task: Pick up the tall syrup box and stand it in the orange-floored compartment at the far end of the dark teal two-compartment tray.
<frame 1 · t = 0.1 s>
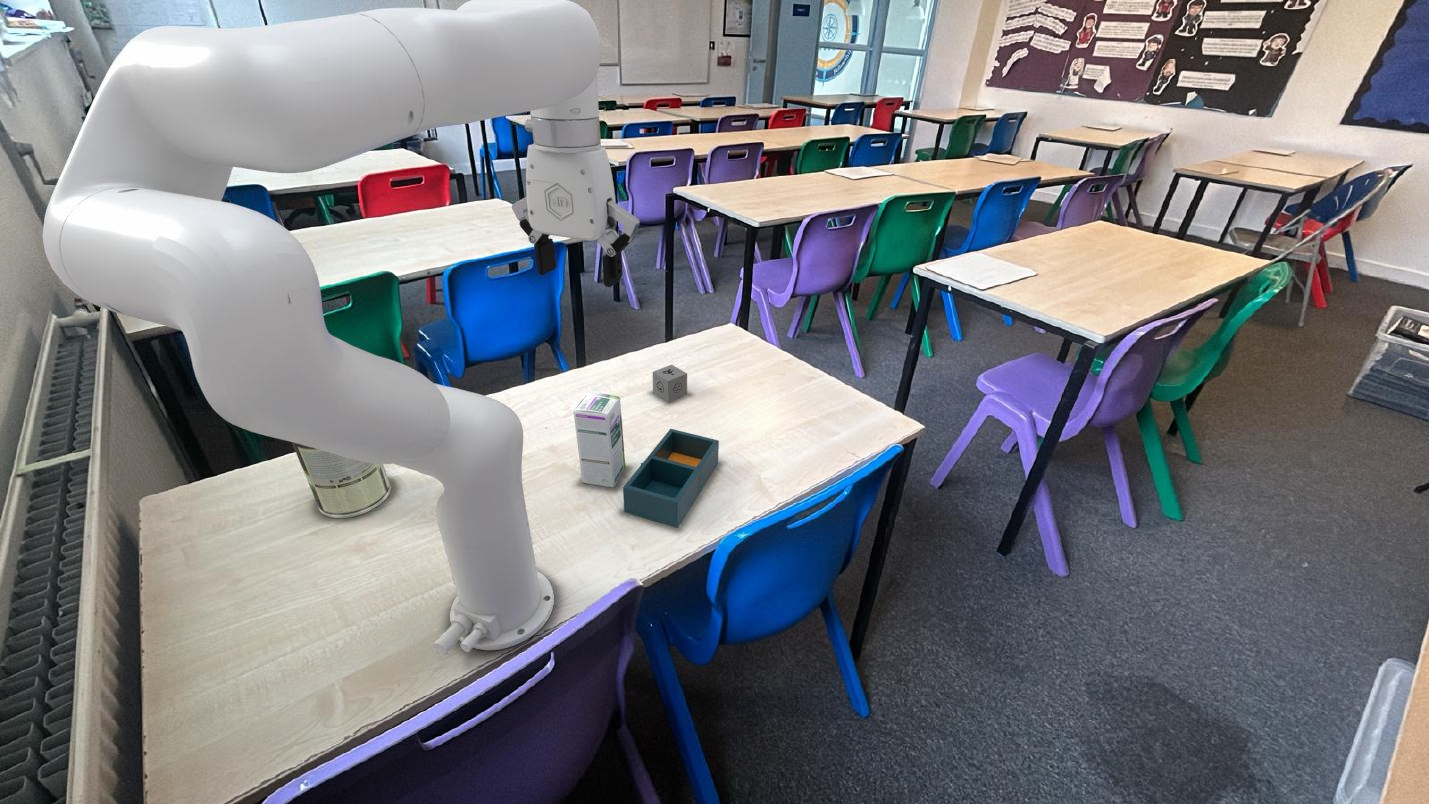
hand: (579, 277, 78), 37 cm above the table, tool pointing down, fingers open, 9 cm apart
dice cube: (670, 394, 125), on the table
coffee can: (355, 497, 95), on the table
syrup box: (603, 476, 102), on the table
tray: (673, 486, 100), on the table
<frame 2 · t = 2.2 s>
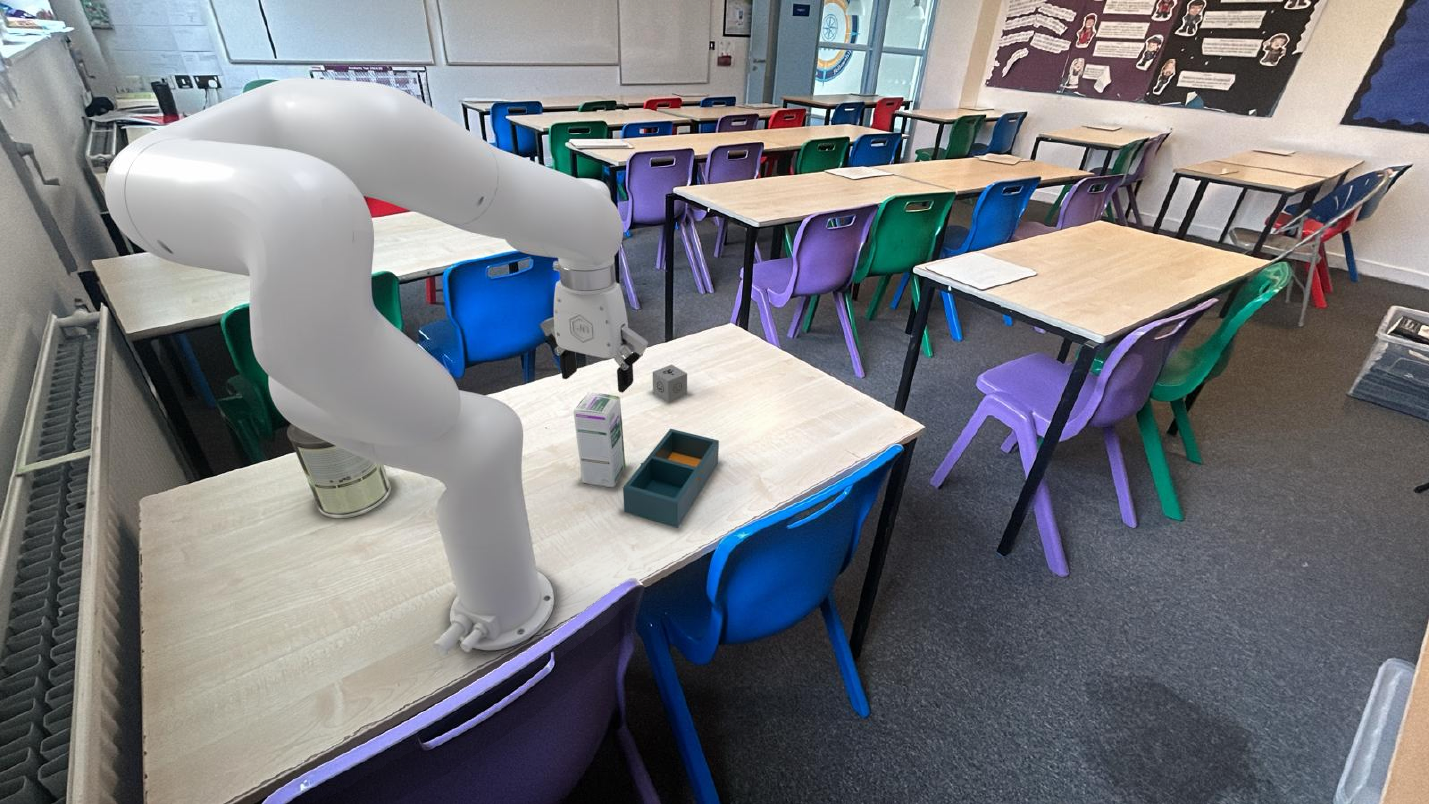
hand: (597, 381, 93), 18 cm above the table, tool pointing down, fingers open, 9 cm apart
nothing on the table moved.
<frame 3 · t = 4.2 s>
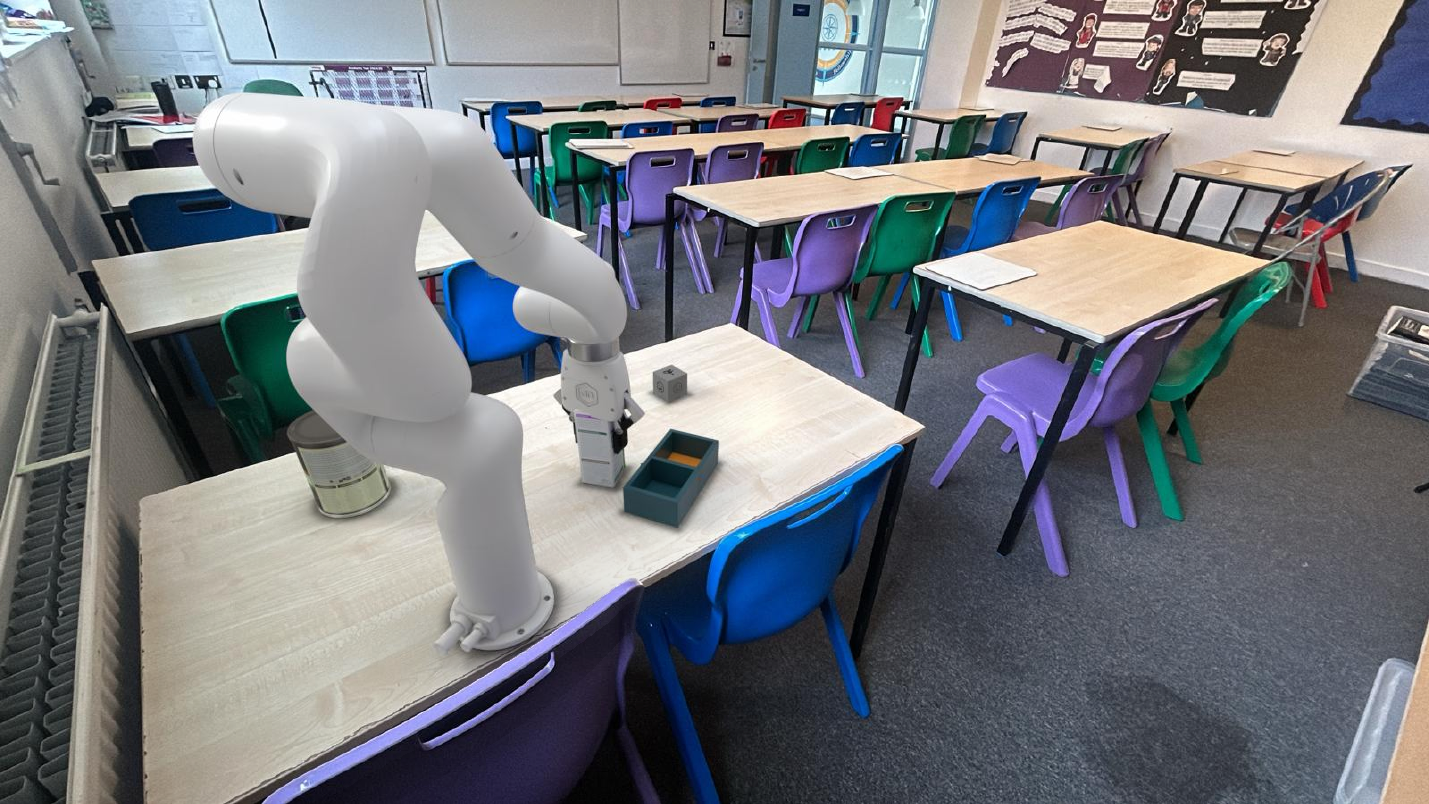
hand: (601, 443, 98), 7 cm above the table, tool pointing down, fingers closed on syrup box, 6 cm apart
syrup box: (603, 476, 102), on the table, touching gripper
everything else where it was.
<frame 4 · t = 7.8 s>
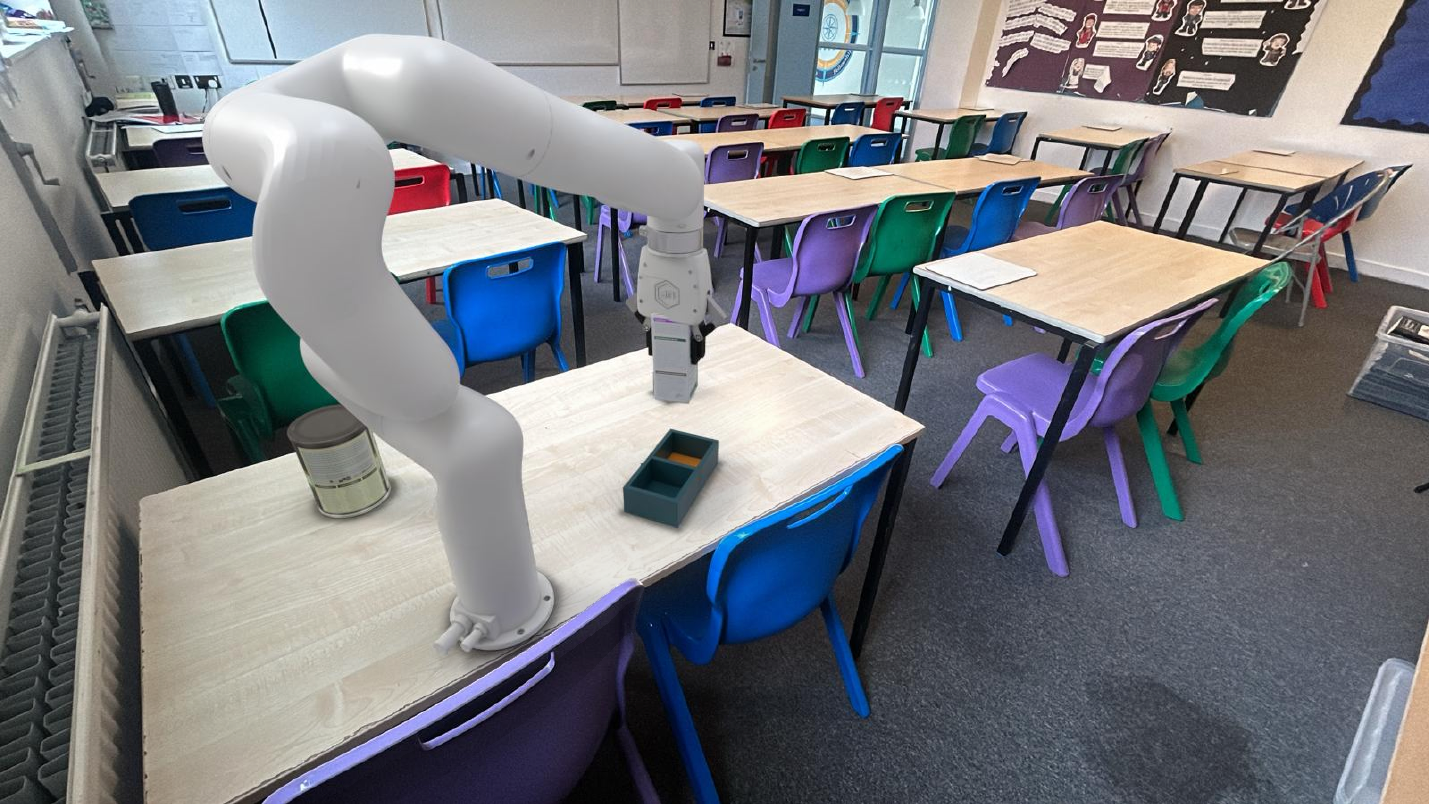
hand: (675, 355, 91), 22 cm above the table, tool pointing down, fingers closed on syrup box, 6 cm apart
syrup box: (675, 394, 95), point 16 cm above the table, touching gripper
everything else where it was.
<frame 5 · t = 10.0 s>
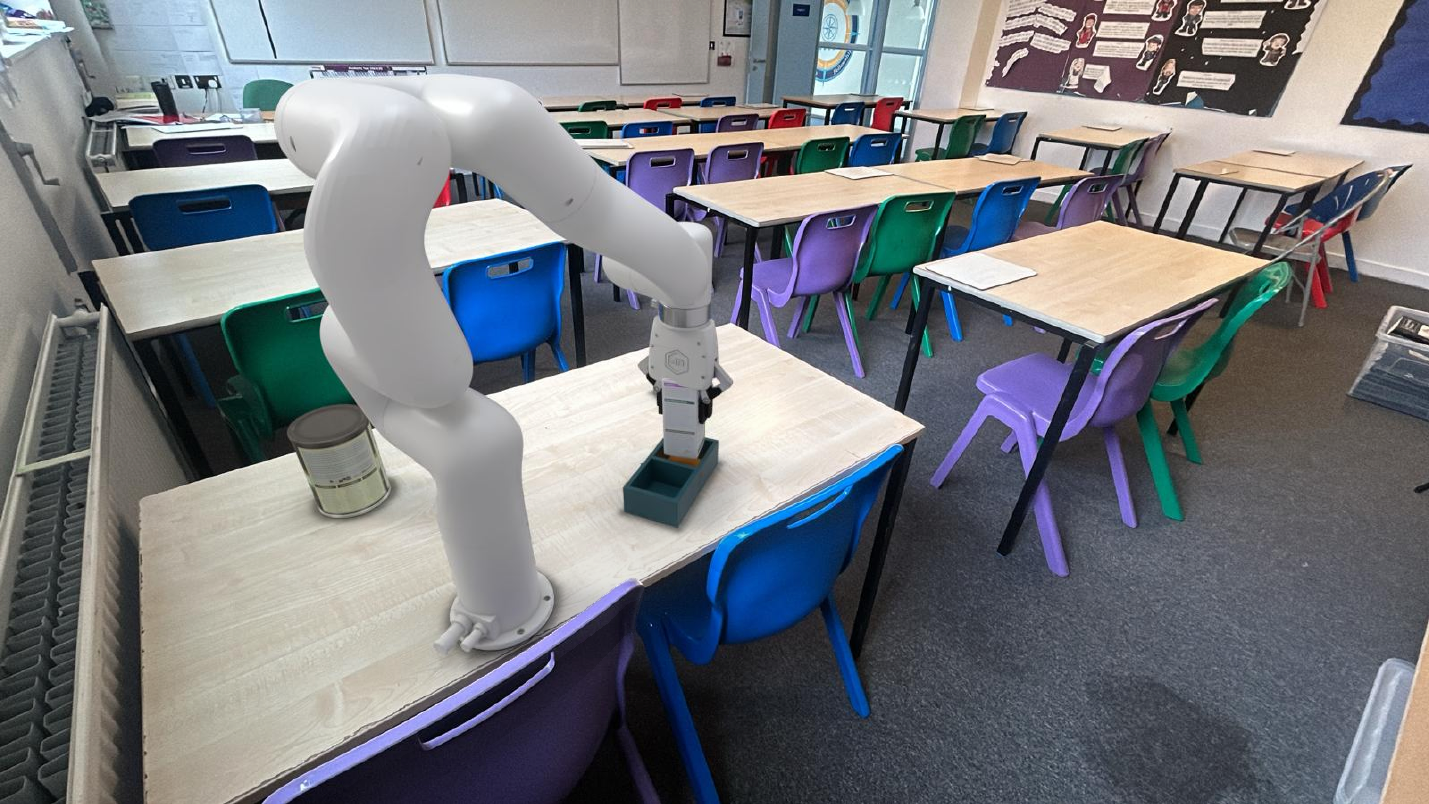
hand: (684, 414, 97), 12 cm above the table, tool pointing down, fingers closed on syrup box, 6 cm apart
syrup box: (684, 448, 101), point 5 cm above the table, touching gripper
everything else where it was.
when the fingers open (7 cm above the table, at t = 11.6 s): syrup box stays where it is, resting on tray.
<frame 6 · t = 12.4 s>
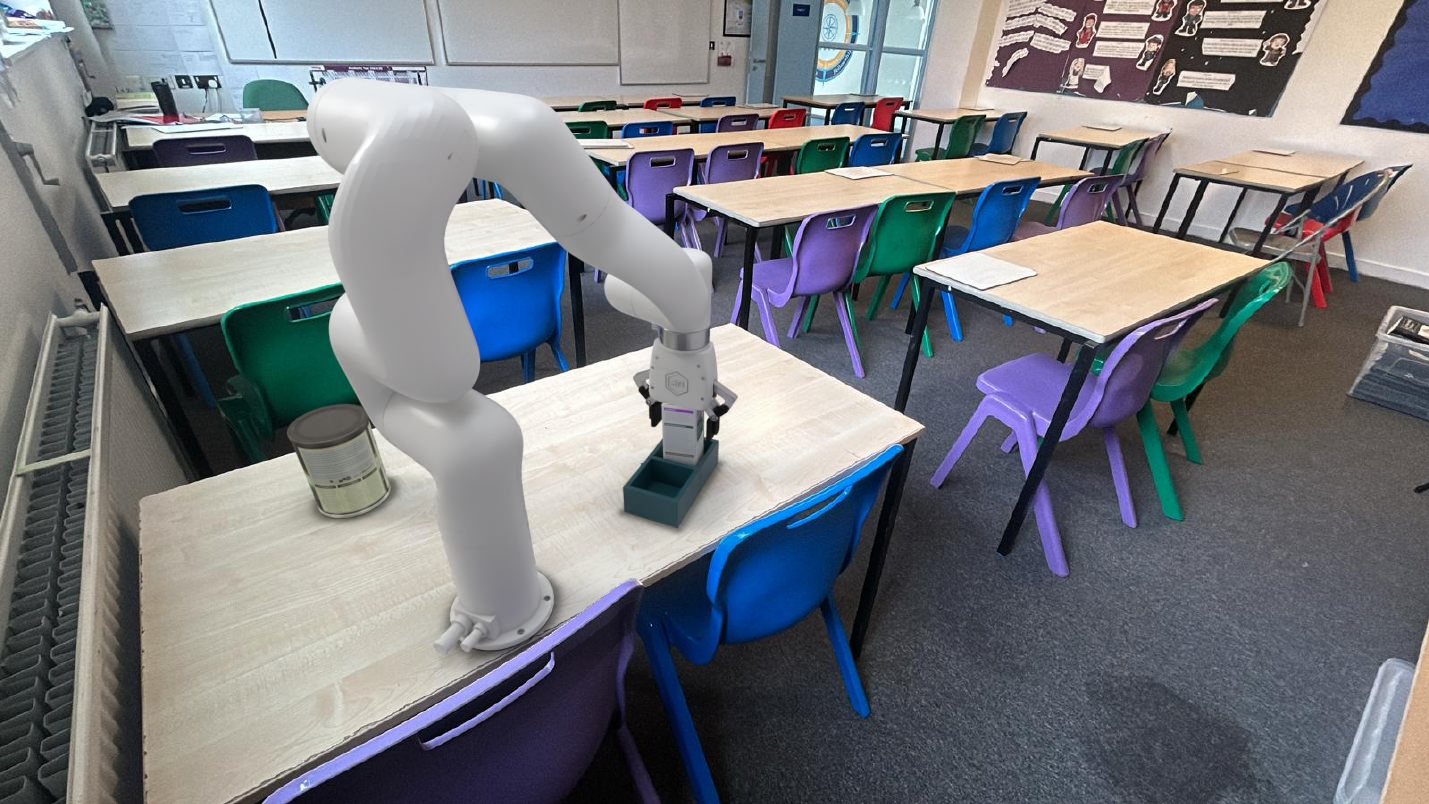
hand: (683, 429, 99), 9 cm above the table, tool pointing down, fingers open, 9 cm apart
syrup box: (683, 469, 103), point 1 cm above the table, touching tray
everything else where it was.
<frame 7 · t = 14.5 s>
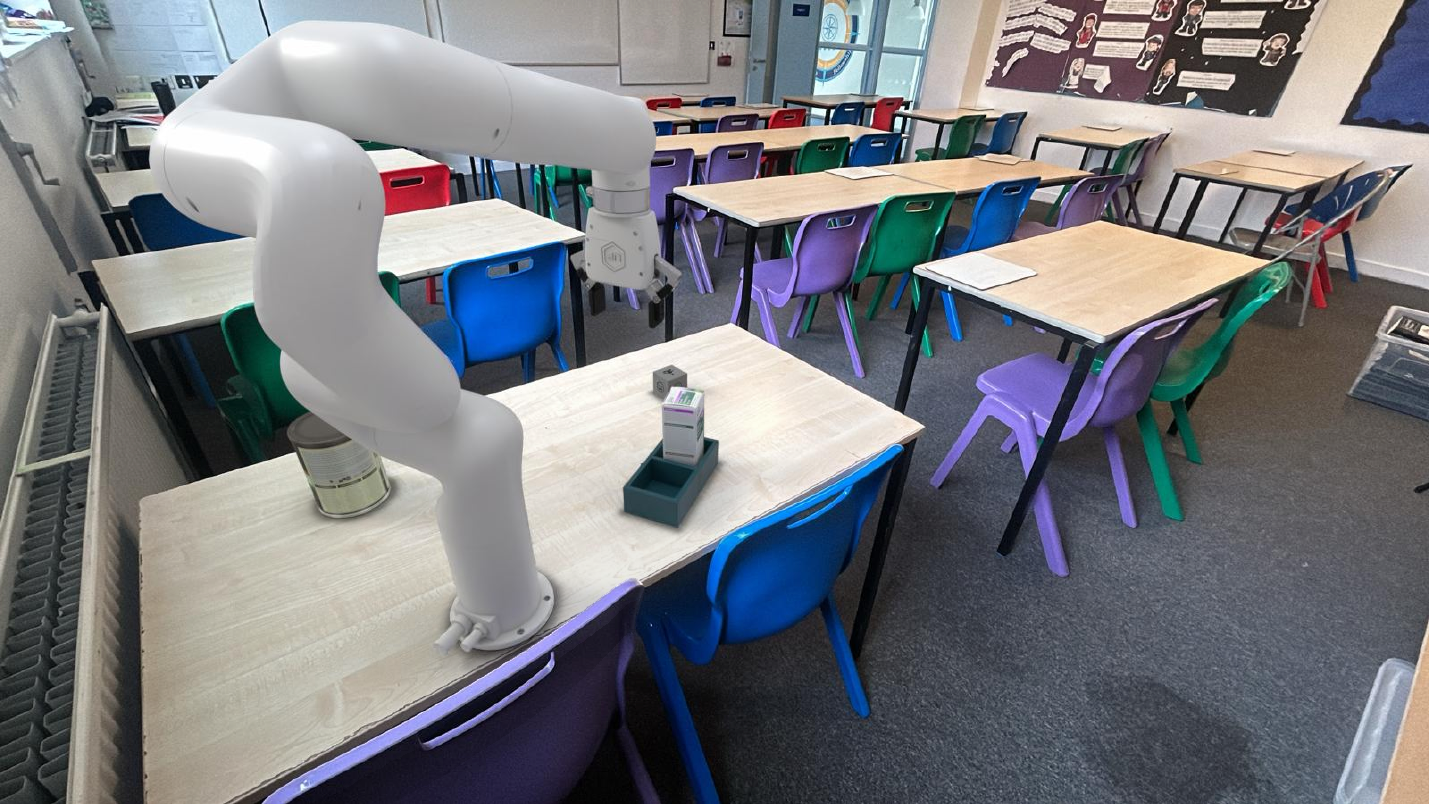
hand: (626, 318, 89), 28 cm above the table, tool pointing down, fingers open, 9 cm apart
nothing on the table moved.
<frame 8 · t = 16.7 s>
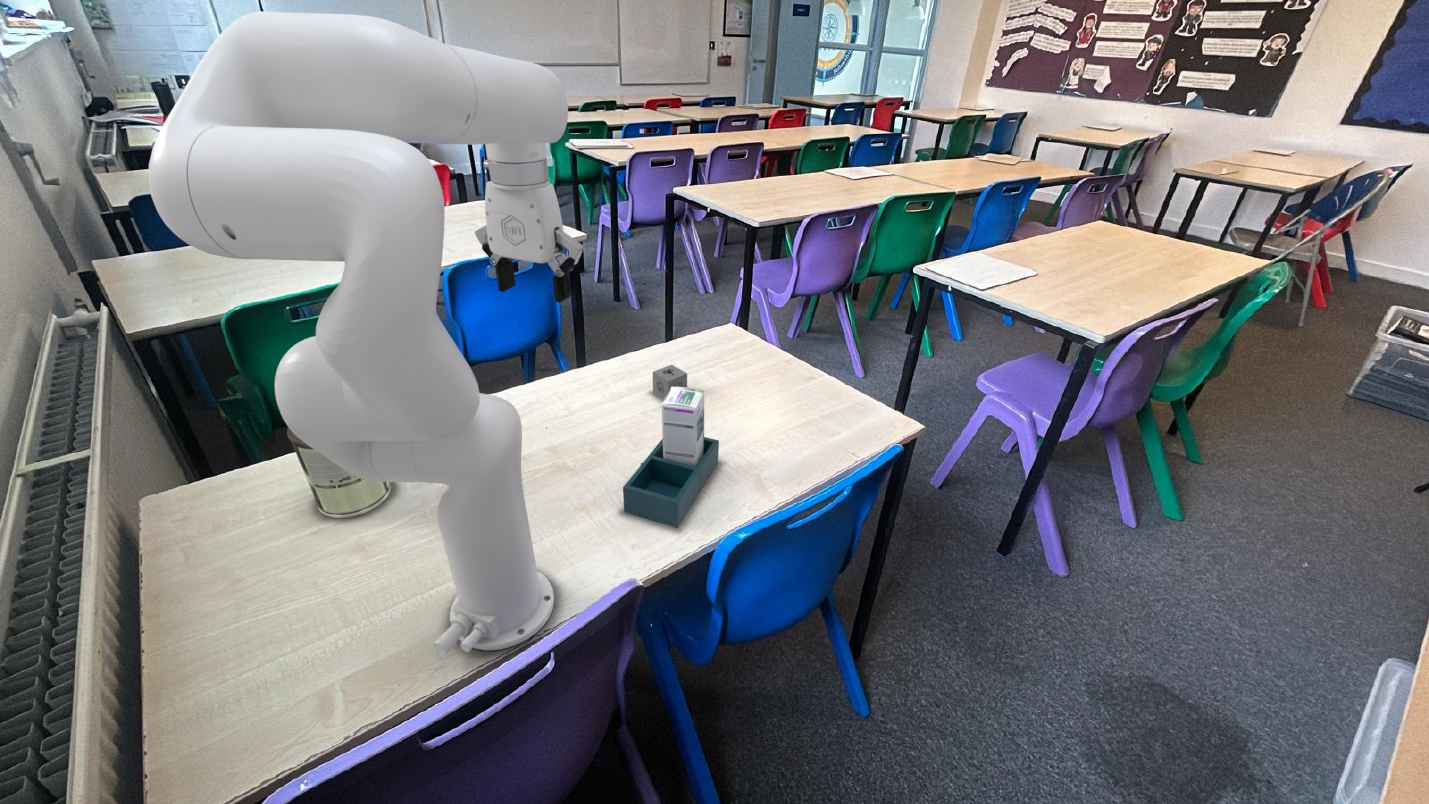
hand: (534, 293, 90), 30 cm above the table, tool pointing down, fingers open, 9 cm apart
nothing on the table moved.
at the end: syrup box 0.1 cm from the target spot in the tray, point 0.5 cm above the tray's base; syrup box tilted 0°; the gripper is holding nothing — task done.
